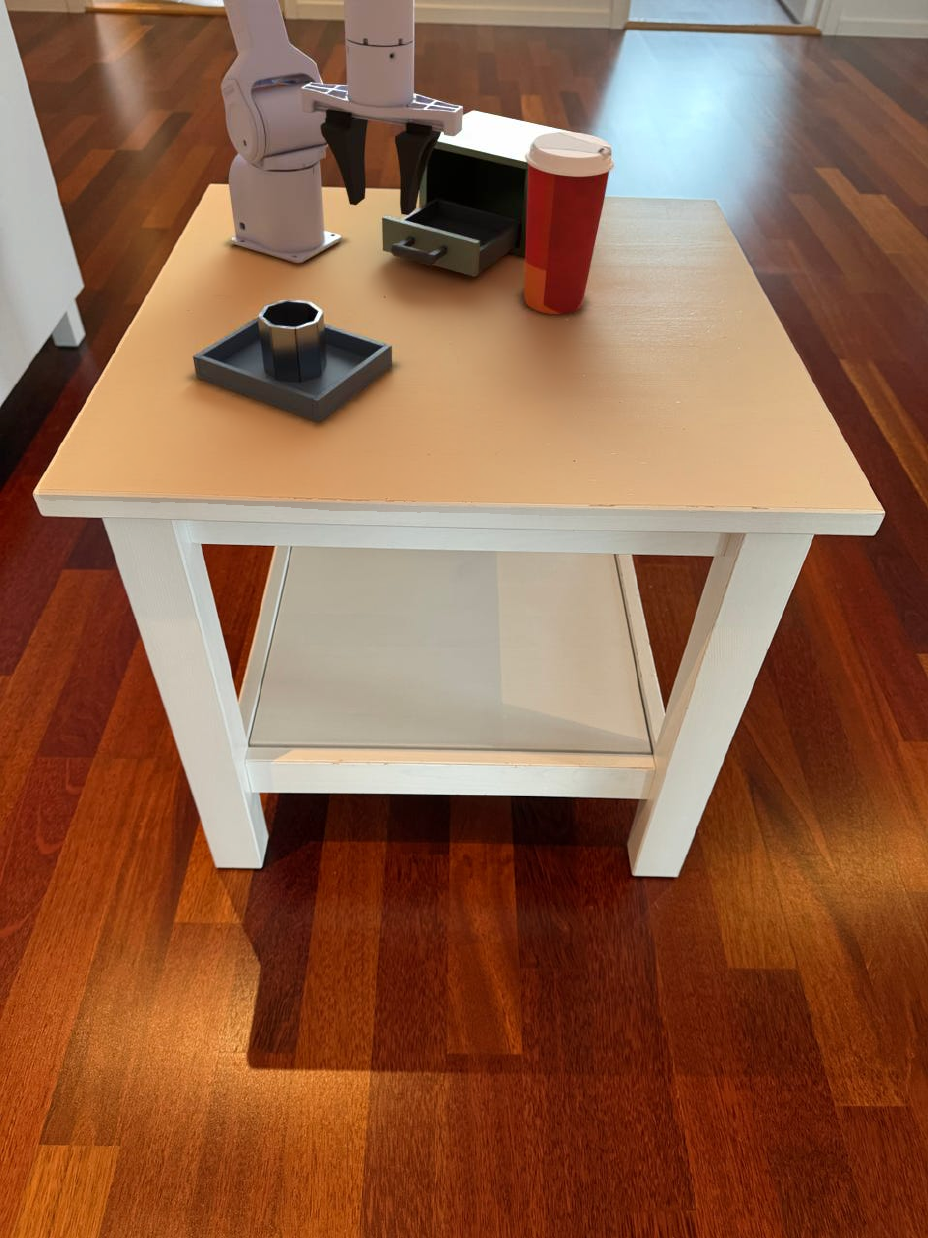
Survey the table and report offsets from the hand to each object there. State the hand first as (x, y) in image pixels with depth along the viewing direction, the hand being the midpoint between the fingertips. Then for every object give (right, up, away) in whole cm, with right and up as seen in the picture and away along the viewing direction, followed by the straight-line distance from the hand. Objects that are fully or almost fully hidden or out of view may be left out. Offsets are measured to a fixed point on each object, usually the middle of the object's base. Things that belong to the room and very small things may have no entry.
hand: (382, 206), depth 86 cm
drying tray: (-7, -17, -4) cm, 19 cm away
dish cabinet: (+11, +8, +22) cm, 26 cm away
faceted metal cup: (-7, -16, -4) cm, 18 cm away
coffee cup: (+17, -6, +8) cm, 20 cm away
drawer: (+6, +1, +14) cm, 15 cm away
